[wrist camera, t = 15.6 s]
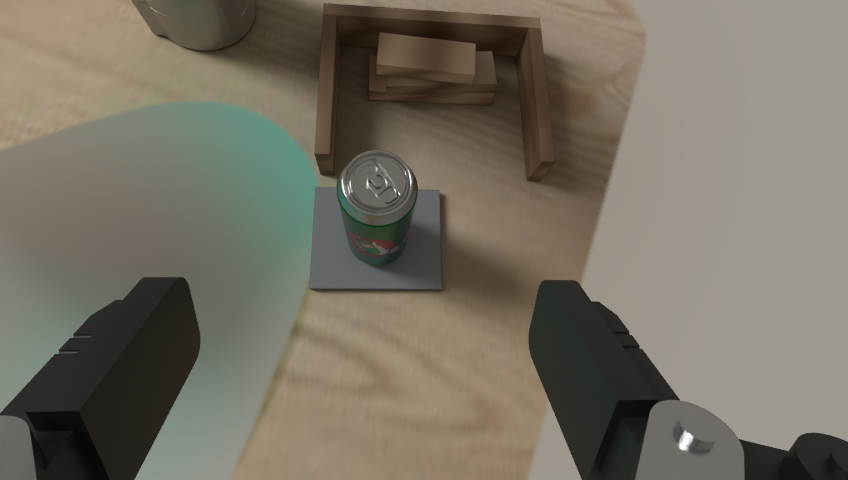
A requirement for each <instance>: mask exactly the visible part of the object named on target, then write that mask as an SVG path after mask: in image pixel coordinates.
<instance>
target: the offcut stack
mask: <svg viewBox="0 0 848 480" xmlns="http://www.w3.org/2000/svg"><path fill="white" fill-rule="evenodd" d="M475 49H476V44H474V43H465V42H457V41H448V40H440V39H432V38H423V37H415V36H407V35H398V34H390V33H381V32H380V35H379V44H378V54H377V55H370V70H369V100H388V101H410V102H431V103H453V104H474V105H491V104H492V102H493V100H494V97H495V95H494V91H495V88H496V86H497V78H496V72H495V66H494V60H493V54H492V51H482V52H475Z"/></svg>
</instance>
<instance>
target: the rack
mask: <svg viewBox="0 0 848 480" xmlns="http://www.w3.org/2000/svg"><path fill="white" fill-rule="evenodd" d="M380 32H381V33H390V34H398V35H407V36H415V37H423V38H432V39H440V40H448V41H457V42H465V43H474V44H476V49H475V52H482V51H492V54H493V55H504V56H516V62H517V73H518V84H519V96H520V107H521V118H522V130H523V141H524V153H525V164H526V175H527V180H533V181H539V180H540V179H541V178H542V177H543V176H544V174H545V173H546V172H547V171H548V170H549V169H550V167H551V166H552V165H553V164H554V163H555V153H554V143H553V134H552V125H551V116H550V107H549V98H548V89H547V79H546V70H545V61H544V52H543V43H542V34H541V25H540V18H533V17H518V16H503V15H488V14H474V13H459V12H444V11H429V10H414V9H399V8H385V7H370V6H355V5H340V4H325V3H324V9H323V25H322V41H321V57H320V73H319V89H318V105H317V121H316V137H315V157H316V160H317V164H318V167H319V170H320V174H326V175H334V167H335V146H336V124H337V103H338V82H339V61H340V46H349V47H367V48H378V44H379V35H380Z"/></svg>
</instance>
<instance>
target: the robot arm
mask: <svg viewBox="0 0 848 480" xmlns="http://www.w3.org/2000/svg"><path fill="white" fill-rule="evenodd" d="M131 1H132V2H133V4H134V5H135V7H136V8H137V10H138V11H139V13H140V14H141V16H142V17H143V19H144V20H145V22H146V23H147V25H148V26H149V28H150V29H151V31H152V32H153V33H154V34H155V35H164V36H166V37H168V38H169V39H171V40H172V41H174V42H175V43H176V44H179V45H181V46H183V47H186V48H190V49H194V50H205V51H206V50H216V49H220V48H223V47H227V46H229V45H231V44H233V43H235V42H237V41H238V40H239V39H241V38H242V37H243V36H244V35H245V34H246V33H247V32H248V31H249V30H250V28H251V26H252V24H253V22H254V18H255V4H254V0H131ZM199 349H200V331H199V327H198V322H197V318H196V314H195V310H194V305H193V301H192V297H191V293H190V288H189V285H188V282H187V281H186V279H185V278H183V277H145V278H143V279H141V280H140V281H139V282H138V283H137V284H136V286H135V287H134V288H133V289H132V290H131V291H130V293H129V294H128V295H127V296H126V297H125V298H124V299H123V300H115V301H114V302H112V303H111V304H109V305H107V306H106V307H104V308H103V309H101V310H99V311H98V312H96V313H95V314H93V315H91V316H90V317H89V318H88V319H87V320H86V321H85V323H84V324H83V325H82V326H81V327H80V328H79V329H78V330H77V331H76V332H75V333H74V337H73V338H70V339H69V340H68V341H67V342H66V343H65V344H64V345H63V346H62V348H60V350H59V354H55V355H54V356H53V357H52V358H51V359H50V360H49V361H48V362H47V363H46V364H45V366H44V367H43V368H42V369H41V370H40V371H39V372H38V373H37V374H36V375H35V376H34V377H33V379H32V380H31V381H30V382H29V383H28V384H27V385H26V386H25V387H24V388H23V389H22V390H21V392H20V393H19V394H18V395H17V396H16V397H15V398H14V399H13V400H12V401H11V402H10V403H9V404H8V406H6V408H5V409H4V410H3V411H2V412H1V413H0V480H134V479H135V477H136V475H137V473H138V471H139V469H140V468H141V466H142V464H143V462H144V460H145V458H146V456H147V454H148V452H149V450H150V448H151V446H152V445H153V443H154V441H155V439H156V437H157V435H158V433H159V431H160V429H161V427H162V425H163V423H164V421H165V419H166V418H167V415H168V414H169V412H170V410H171V408H172V406H173V404H174V402H175V400H176V398H177V396H178V395H179V393H180V391H181V389H182V387H183V385H184V383H185V381H186V379H187V377H188V375H189V373H190V371H191V370H192V368H193V366H194V364H195V362H196V360H197V357H198V354H199ZM529 350H530V355H531V358H532V360H533V363H534V365H535V368H536V370H537V372H538V375H539V377H540V380H541V382H542V384H543V387H544V389H545V392H546V394H547V397H548V399H549V401H550V404H551V406H552V409H553V411H554V413H555V416H556V418H557V421H558V423H559V425H560V428H561V430H562V432H563V435H564V437H565V440H566V442H567V445H568V447H569V450H570V451H571V454H572V457H573V459H574V462H575V464H576V466H577V469H578V471H579V474H580V476H581V479H582V480H848V442H847V441H844V440H842V439H839V438H836V437H833V436H830V435H826V434H821V433H806V434H803V435H801V436H799V437H798V439H797V440H796V441H795V443H794V444H793V446H792V447H791V448H790V450H789V451H785V450H781V449H777V448H773V447H769V446H765V445H760V444H756V443H752V442H748V441H744V440H740V439H738V437H737V436H736V435H735V433H734V432H733V431H732V430H731V429H730V428H729V427H728V426H727V424H725V423H724V422H723V421H722V420H721V419H719V418H718V417H717V416H715V415H714V414H712V413H711V412H709V411H707V410H705V409H703V408H701V407H699V406H697V405H694V404H692V403H688V402H684V401H680V400H679V398H678V397H677V395H676V394H675V393H674V391H673V390H672V389H671V387H670V386H669V385H668V383H667V382H666V381H665V379H664V378H663V377H662V375H661V374H660V372H659V371H658V370H657V368H656V367H655V366H654V364H653V363H652V362H651V360H650V359H649V358H648V356H647V355H646V354H645V353H644V351H643V350H642V349H640V348H639V344H638V343H637V342H636V340H635V339H634V337H633V336H632V335H629V331H628V329H627V328H626V327H625V325H624V324H623V323H622V321H621V320H620V319H619V317H618V316H617V315H615V314H614V313H613V312H612V311H610V310H609V309H608V308H606V307H605V306H604V305H602V304H601V303H600V302H591V300H590V299H589V297H588V296H587V295H586V293H585V292H584V290H583V289H582V287H581V286H580V284H579V283H578V282H577V281H575V280H544V281H542V282H541V284H540V286H539V290H538V294H537V298H536V303H535V307H534V312H533V316H532V321H531V325H530V330H529Z"/></svg>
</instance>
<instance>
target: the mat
mask: <svg viewBox="0 0 848 480" xmlns="http://www.w3.org/2000/svg"><path fill="white" fill-rule="evenodd" d="M309 288H310V289H327V290H441V289H442V275H441V237H440V199H439V190H418V195H417V201H416V205H415V209H414V214H413V218H412V223H411V227H410V231H409V236H408V240H407V244H406V247H405V249H404V251H403V253H402V254H401V256H400V257H398V258H397V259H396V260H395V261H393V262H391V263H389V264H386V265H381V266H374V265H369V264H366V263H364V262H362V261H360V260H359V259H357V258H356V257H355V256H354V254H353V253H352V251H351V249H350V247H349V244H348V240H347V236H346V232H345V228H344V223H343V219H342V215H341V210H340V206H339V202H338V198H337V187H315V203H314V219H313V235H312V252H311V269H310V285H309Z"/></svg>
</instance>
